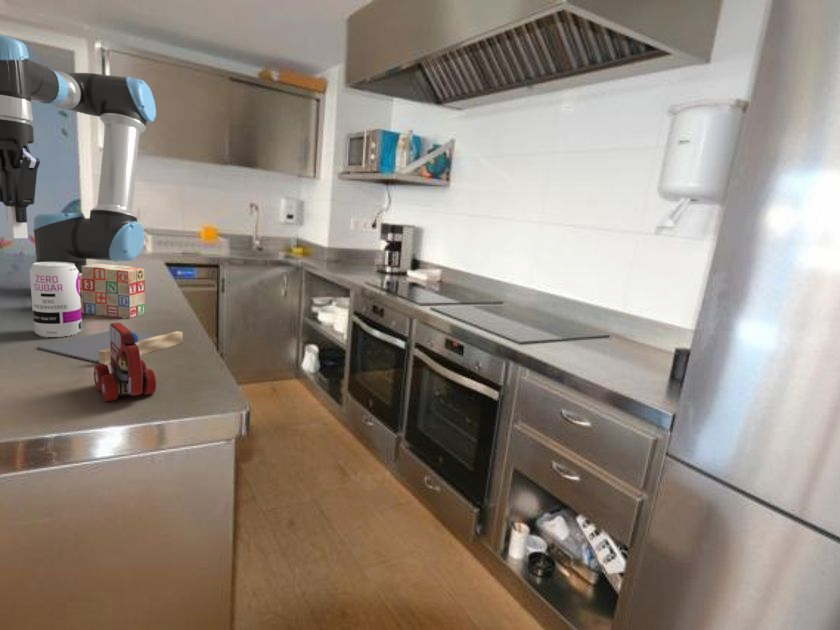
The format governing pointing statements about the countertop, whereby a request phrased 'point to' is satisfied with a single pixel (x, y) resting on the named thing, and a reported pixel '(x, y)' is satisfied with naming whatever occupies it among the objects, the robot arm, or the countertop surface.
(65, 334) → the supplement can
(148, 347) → the stop rail
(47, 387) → the countertop surface
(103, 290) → the stack of blocks
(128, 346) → the toy fire truck
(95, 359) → the mat
